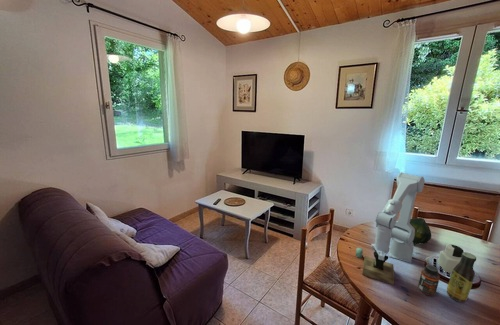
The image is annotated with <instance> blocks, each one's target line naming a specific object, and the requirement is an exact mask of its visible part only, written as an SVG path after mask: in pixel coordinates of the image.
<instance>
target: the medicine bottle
mask: <svg viewBox="0 0 500 325" xmlns="http://www.w3.org/2000/svg"><path fill="white" fill-rule="evenodd" d="M463 252H464V249H463V248H462V247H460V246H457V245H455V244H446V246H445V250H440V252H439V255H438V260H437V264H438V263H439V264H438V265H439V267H440V266H441V267H442V268H441V267H440V268H441V270H442V269H443V270H444V271H445V272H448V273H447V274H450V273H452V271H453V269H454V268H455V266H456V265H457V264H459V262H460V260H461V255H462V253H463ZM443 270H442V271H443ZM444 271H443V272H444ZM445 272H444V273H445Z"/></svg>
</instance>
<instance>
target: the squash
mask: <svg viewBox="0 0 500 325" xmlns="http://www.w3.org/2000/svg"><path fill="white" fill-rule="evenodd" d="M410 224H411V225H412V227H413V228H414V229H415V233H414V234H415V236H414V240H413V242H412V243H413V245H425V244H427V243H429V241H430V240H431V239H432V232H431V227H430V226H429V225H428V223H427V221H426V220H425V219H424V218H423V217H416V218H411V219H410Z"/></svg>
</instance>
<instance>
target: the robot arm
mask: <svg viewBox="0 0 500 325" xmlns="http://www.w3.org/2000/svg"><path fill="white" fill-rule="evenodd" d="M425 183H426V182H425V177H424V176H419V175H415V174H409V173H404V172H399V173H398V174H397V176H396V190H395V192H394V195H393V197H392V198H390V199H388V201H387V202H386V204H385V206H383V209H382V211H380V212H378V213H377V214H376V216H375V228H376V233H375V240H374V243H371V248H373V249H374V251H373V257H374V259H375V260H376V267H378V268H382V266H383V264H384V262H387V261H388V260H389V257H390V258H392V259H397V260H400V261H403V262H407V263H412V258H413V254H414V246H415V244H414V243H413V240H414V236H415V234H414V233H415V229H414V228H413V227H412V225H411V224H410V219H412V214H413V209H414V206H415V202H416V198H417V194H418V193H422V192H423V190H424V187H425V186H424V185H425ZM387 254H388V255H387Z"/></svg>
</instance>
